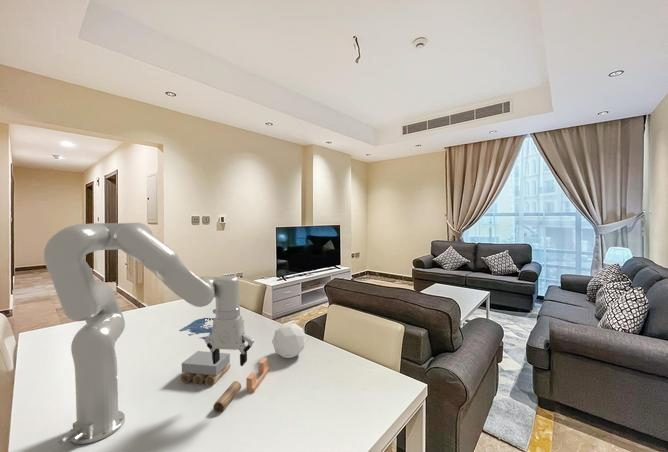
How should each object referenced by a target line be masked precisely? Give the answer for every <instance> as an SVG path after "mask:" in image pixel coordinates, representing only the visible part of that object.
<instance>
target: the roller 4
mask: <svg viewBox="0 0 668 452" xmlns="http://www.w3.org/2000/svg"><path fill="white" fill-rule="evenodd" d="M241 389H242V384H241V382H239V381H238V380H235V381H232V383H231V384H230V385H229V387H228V388H226V390H225V391H224V392H223V393H222V395H221V396H220V397H219V398H218V399H217V400H216V401H215V403H214V404H213V410H214V412H215V413H220V414H221V413H223V412H224V411H225V410H226V408H227V407H228V406H229V404H230V403H231V402H232V401H233V399H234V398H235V397H236V395H237V394H238V393H239V392H240V391H241Z"/></svg>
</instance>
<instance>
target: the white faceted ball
mask: <svg viewBox="0 0 668 452" xmlns="http://www.w3.org/2000/svg"><path fill="white" fill-rule="evenodd" d="M306 340H307V338H306V335H305V332H304V329H303V328H302V327H301V326H299V325H298V324H296V323H289V322H287V323H283V324H282V325H281V326H279V328H277V329H276V330H275V331H274V335H273V339H272V341H271V342H272V345H273V349H274V352H276V353H277V354H278V355H280V356H281V357H282V358H284V359H285V358H286V359H292V358H294V357H296V356H298V355H299V354H300V353H301V352H302V351H303V350H304V348H305V345H306Z"/></svg>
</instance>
